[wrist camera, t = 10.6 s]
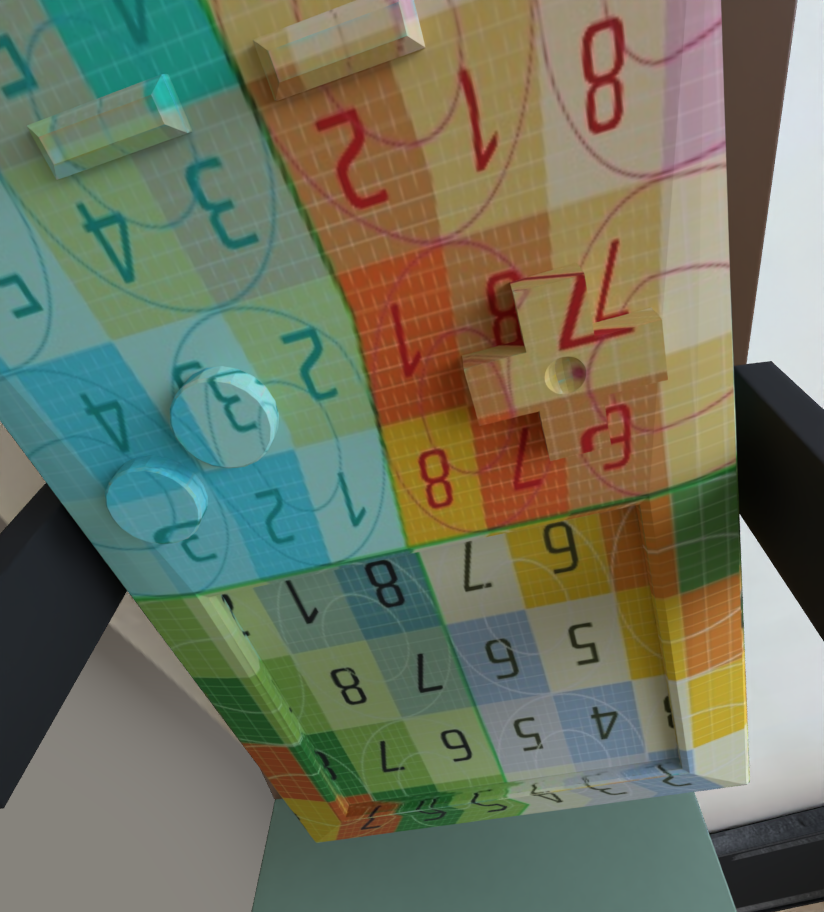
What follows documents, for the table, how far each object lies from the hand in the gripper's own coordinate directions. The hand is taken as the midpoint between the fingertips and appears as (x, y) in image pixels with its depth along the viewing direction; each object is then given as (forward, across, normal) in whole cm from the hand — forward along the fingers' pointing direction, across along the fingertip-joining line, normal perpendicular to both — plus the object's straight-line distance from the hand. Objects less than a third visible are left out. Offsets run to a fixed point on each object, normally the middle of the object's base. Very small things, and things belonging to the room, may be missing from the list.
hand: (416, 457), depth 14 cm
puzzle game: (+2, 0, 0) cm, 2 cm away
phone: (+7, +15, -34) cm, 38 cm away
